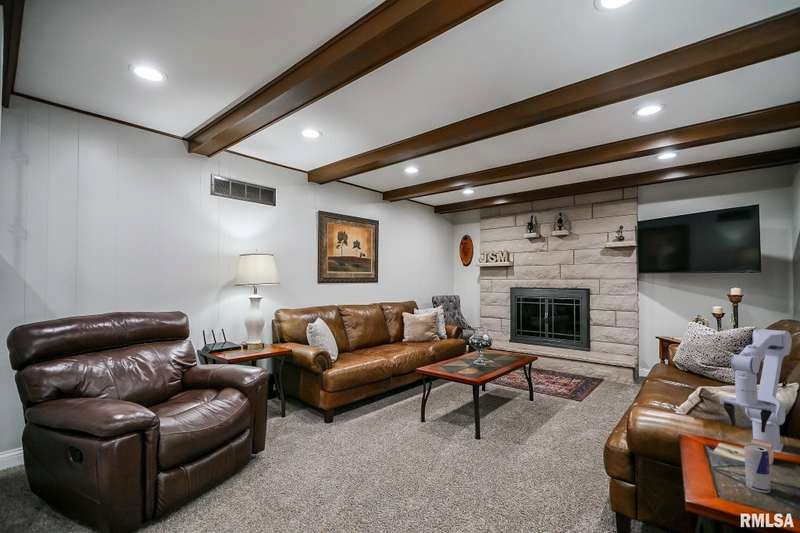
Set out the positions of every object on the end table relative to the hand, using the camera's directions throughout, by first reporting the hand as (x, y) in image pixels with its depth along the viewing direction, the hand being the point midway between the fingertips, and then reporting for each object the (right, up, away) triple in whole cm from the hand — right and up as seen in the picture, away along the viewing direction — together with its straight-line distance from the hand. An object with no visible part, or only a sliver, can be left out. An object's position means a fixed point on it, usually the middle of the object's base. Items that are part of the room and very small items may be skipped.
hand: (748, 428), depth 134 cm
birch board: (-4, -10, +2) cm, 11 cm away
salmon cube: (+1, -9, -4) cm, 10 cm away
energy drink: (-16, -9, -21) cm, 28 cm away
